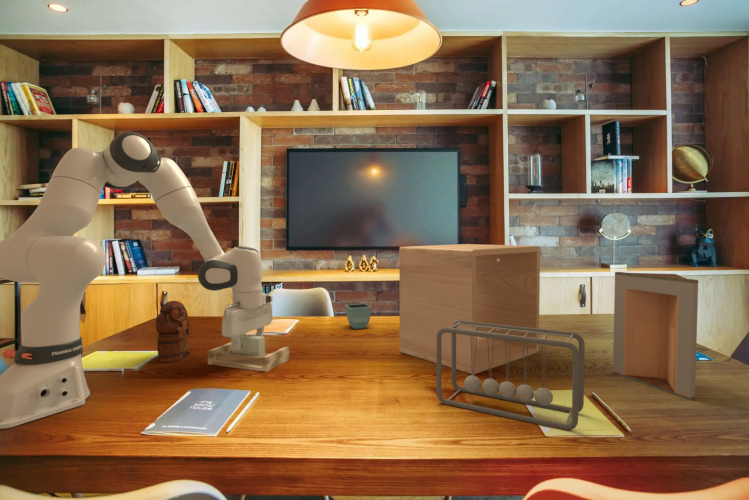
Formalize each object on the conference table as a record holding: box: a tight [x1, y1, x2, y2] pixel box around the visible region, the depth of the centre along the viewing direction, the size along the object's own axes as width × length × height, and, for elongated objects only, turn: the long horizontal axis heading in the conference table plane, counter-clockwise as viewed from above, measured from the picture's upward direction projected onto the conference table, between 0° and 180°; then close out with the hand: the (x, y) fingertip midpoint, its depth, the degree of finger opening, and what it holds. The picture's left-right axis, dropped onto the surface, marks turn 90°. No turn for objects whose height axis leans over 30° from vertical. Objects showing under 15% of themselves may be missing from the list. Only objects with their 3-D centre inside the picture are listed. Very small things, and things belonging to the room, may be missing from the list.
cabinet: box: [612, 271, 699, 401], centre depth 113 cm, size 21×10×28 cm, turn 21°
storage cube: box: [398, 243, 541, 375], centre depth 143 cm, size 34×29×34 cm
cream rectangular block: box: [230, 334, 266, 357], centre depth 134 cm, size 3×10×7 cm, turn 69°
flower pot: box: [345, 303, 372, 330], centre depth 180 cm, size 9×9×9 cm
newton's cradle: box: [436, 320, 586, 431], centre depth 99 cm, size 30×10×18 cm, turn 59°
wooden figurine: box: [155, 300, 191, 363], centre depth 139 cm, size 12×6×18 cm, turn 175°
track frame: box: [207, 342, 290, 373], centre depth 134 cm, size 12×21×4 cm, turn 69°
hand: (248, 345), depth 134 cm, fingers open, 8 cm apart
